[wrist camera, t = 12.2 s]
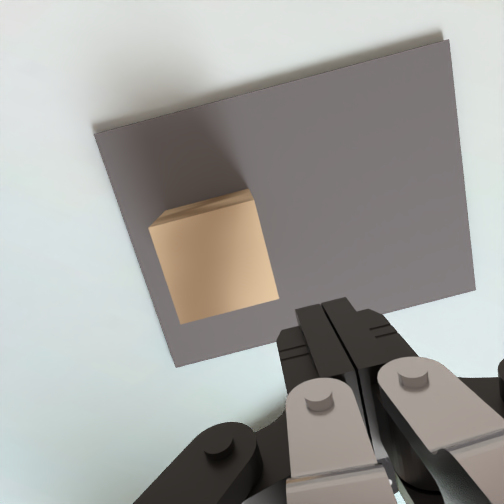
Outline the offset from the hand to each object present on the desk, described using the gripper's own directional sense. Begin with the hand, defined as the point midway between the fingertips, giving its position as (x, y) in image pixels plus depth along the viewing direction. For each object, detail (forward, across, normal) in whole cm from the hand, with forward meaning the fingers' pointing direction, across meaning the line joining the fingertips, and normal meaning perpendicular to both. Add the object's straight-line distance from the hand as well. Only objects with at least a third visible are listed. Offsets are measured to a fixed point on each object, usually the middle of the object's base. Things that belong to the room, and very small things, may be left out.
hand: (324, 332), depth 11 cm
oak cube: (+11, +4, 0) cm, 12 cm away
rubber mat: (+18, -2, 0) cm, 18 cm away
